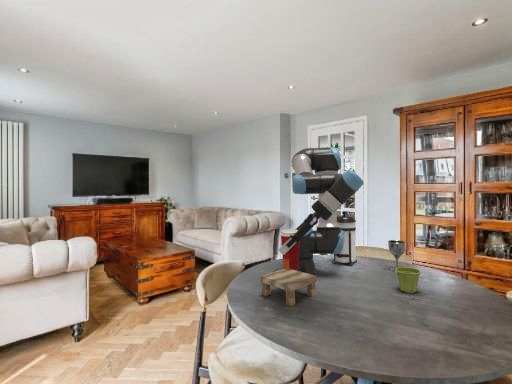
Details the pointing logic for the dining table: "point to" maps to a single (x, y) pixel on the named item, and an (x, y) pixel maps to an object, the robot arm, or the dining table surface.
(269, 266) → the dining table surface
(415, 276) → the plant pot
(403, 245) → the wine glass
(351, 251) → the coffee press
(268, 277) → the wooden step stool
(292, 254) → the paper cup
